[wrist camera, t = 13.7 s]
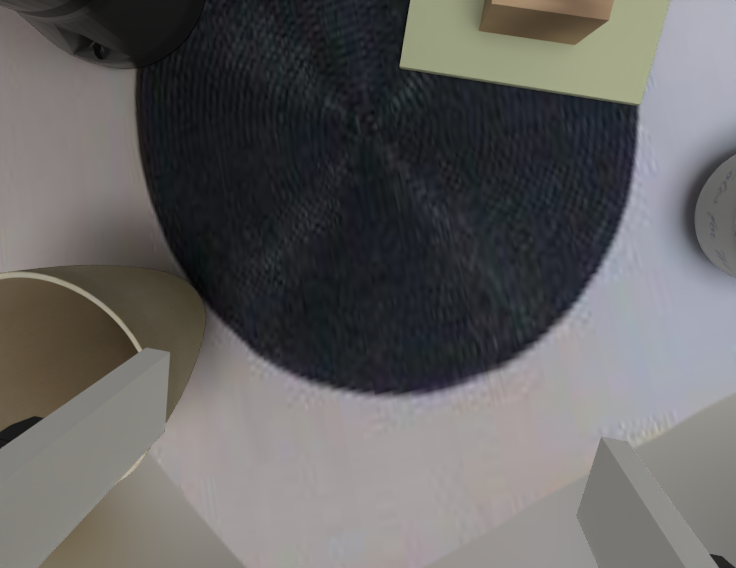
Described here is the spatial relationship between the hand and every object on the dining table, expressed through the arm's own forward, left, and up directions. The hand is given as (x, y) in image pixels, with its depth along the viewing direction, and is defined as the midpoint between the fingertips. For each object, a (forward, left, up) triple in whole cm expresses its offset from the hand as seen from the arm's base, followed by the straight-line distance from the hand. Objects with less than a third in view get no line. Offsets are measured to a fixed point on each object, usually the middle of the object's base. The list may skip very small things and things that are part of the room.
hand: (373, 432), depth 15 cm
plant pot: (-10, -20, -29) cm, 37 cm away
